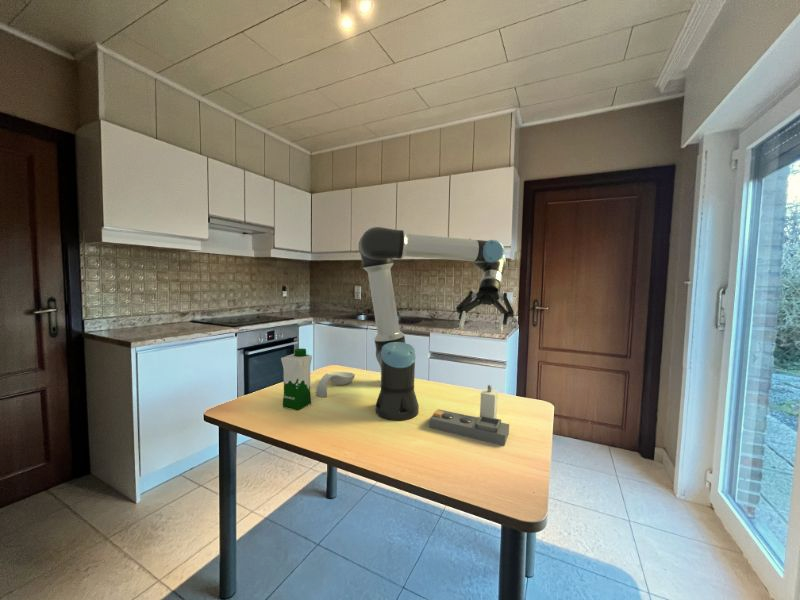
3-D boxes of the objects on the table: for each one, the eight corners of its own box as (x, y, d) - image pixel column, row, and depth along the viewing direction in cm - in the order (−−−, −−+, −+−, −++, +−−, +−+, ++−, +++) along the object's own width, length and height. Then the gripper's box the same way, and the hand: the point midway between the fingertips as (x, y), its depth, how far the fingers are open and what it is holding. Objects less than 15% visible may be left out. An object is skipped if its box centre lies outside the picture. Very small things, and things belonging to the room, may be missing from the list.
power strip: (429, 427, 105) (429, 414, 105) (438, 417, 113) (438, 405, 112) (504, 445, 95) (505, 431, 95) (508, 433, 102) (509, 420, 102)
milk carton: (314, 402, 123) (314, 349, 121) (298, 412, 115) (298, 355, 113) (295, 399, 126) (295, 347, 125) (278, 407, 118) (277, 352, 116)
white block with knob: (479, 422, 110) (481, 386, 109) (482, 416, 114) (484, 382, 113) (493, 425, 108) (495, 389, 107) (496, 419, 112) (498, 384, 111)
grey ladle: (334, 377, 153) (335, 362, 153) (358, 380, 150) (358, 364, 150) (307, 396, 130) (307, 378, 130) (335, 399, 127) (335, 381, 127)
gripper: (525, 292, 124) (518, 339, 112) (460, 289, 135) (447, 332, 123) (524, 278, 119) (517, 325, 107) (457, 276, 130) (443, 319, 118)
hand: (480, 329), depth 115 cm, fingers open, 13 cm apart
